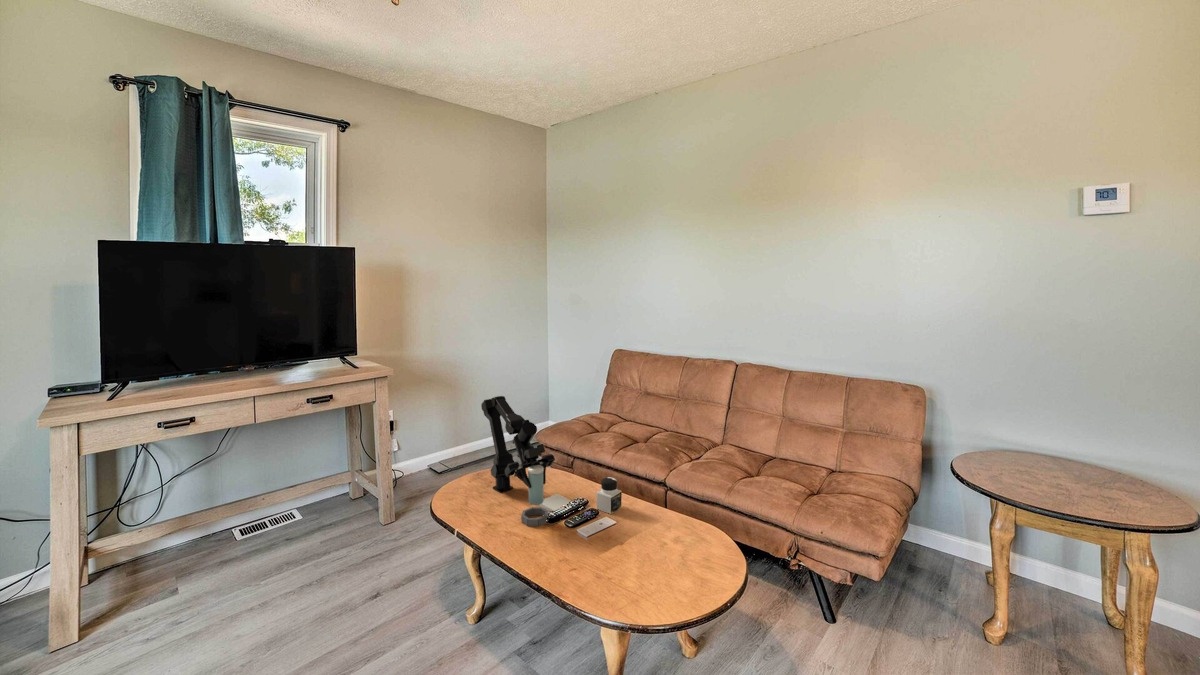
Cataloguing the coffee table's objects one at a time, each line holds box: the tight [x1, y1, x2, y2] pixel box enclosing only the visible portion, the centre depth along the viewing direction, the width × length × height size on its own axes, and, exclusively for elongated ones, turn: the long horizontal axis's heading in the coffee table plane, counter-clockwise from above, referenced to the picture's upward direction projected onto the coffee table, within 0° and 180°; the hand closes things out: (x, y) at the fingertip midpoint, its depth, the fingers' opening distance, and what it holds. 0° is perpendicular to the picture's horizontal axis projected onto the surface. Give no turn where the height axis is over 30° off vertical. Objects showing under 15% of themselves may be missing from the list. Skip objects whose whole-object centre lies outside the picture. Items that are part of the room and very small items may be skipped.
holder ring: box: [521, 506, 549, 527], centre depth 181 cm, size 10×10×2 cm
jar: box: [527, 465, 545, 506], centre depth 180 cm, size 6×6×13 cm
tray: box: [538, 493, 584, 516], centre depth 191 cm, size 16×10×1 cm, turn 44°
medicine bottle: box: [596, 476, 623, 515], centre depth 189 cm, size 7×7×12 cm
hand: (537, 485), depth 179 cm, fingers closed on jar, 5 cm apart
